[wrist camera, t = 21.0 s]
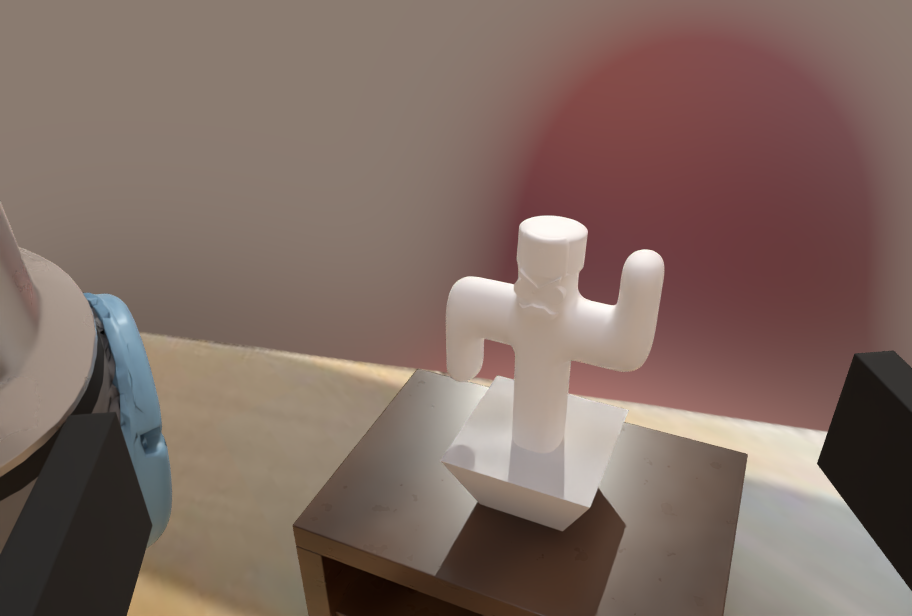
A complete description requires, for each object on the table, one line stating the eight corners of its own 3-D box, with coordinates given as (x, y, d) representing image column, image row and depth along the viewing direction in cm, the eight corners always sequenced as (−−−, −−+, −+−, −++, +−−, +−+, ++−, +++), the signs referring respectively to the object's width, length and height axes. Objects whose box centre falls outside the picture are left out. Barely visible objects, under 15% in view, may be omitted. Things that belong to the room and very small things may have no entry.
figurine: (478, 421, 43) (479, 176, 35) (641, 468, 40) (684, 209, 32) (421, 508, 38) (409, 240, 30) (606, 571, 34) (648, 289, 26)
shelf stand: (314, 648, 42) (291, 525, 37) (422, 482, 53) (417, 367, 48) (676, 803, 35) (713, 678, 30) (715, 574, 46) (748, 453, 41)
